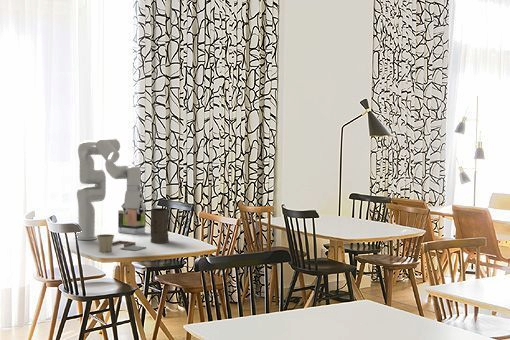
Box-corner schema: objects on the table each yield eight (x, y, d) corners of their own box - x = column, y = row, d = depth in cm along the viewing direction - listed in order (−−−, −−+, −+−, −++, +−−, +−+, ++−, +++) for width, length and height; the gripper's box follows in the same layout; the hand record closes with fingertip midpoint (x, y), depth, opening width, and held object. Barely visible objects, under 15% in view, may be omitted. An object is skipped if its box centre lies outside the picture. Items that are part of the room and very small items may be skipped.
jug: (132, 223, 359) (132, 208, 359) (141, 224, 357) (141, 208, 356) (121, 226, 350) (121, 209, 349) (130, 227, 347) (131, 210, 347)
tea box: (145, 232, 414) (145, 210, 413) (134, 234, 405) (134, 211, 404) (128, 230, 422) (128, 208, 421) (117, 232, 413) (117, 209, 412)
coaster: (120, 249, 353) (120, 248, 353) (131, 246, 362) (131, 245, 362) (135, 250, 349) (135, 249, 349) (146, 248, 358) (146, 247, 358)
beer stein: (164, 244, 372) (165, 210, 371) (147, 243, 375) (147, 209, 373) (173, 240, 387) (173, 207, 386) (156, 239, 390) (157, 206, 389)
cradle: (109, 245, 364) (109, 242, 364) (120, 243, 373) (120, 240, 373) (125, 247, 360) (125, 244, 360) (135, 244, 369) (135, 242, 368)
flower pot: (98, 249, 351) (98, 234, 350) (115, 249, 352) (115, 234, 351) (95, 252, 342) (95, 236, 341) (113, 252, 342) (113, 236, 342)
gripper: (150, 188, 354) (150, 220, 355) (124, 187, 361) (124, 218, 362) (142, 189, 347) (142, 222, 348) (116, 188, 354) (116, 220, 355)
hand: (133, 220), depth 355 cm, fingers closed on jug, 6 cm apart
